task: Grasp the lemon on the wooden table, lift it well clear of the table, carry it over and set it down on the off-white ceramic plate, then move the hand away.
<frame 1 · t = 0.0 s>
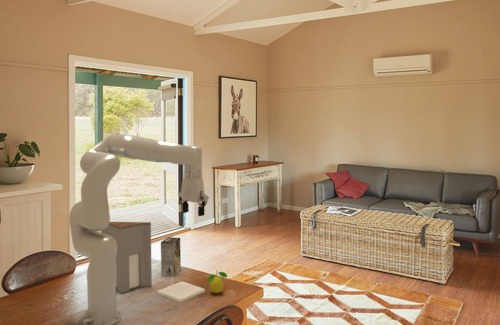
hand: (193, 214, 187), 31 cm above the table, tool pointing down, fingers open, 9 cm apart
coffee box: (171, 273, 203), on the table
cabinet: (124, 290, 183), on the table
lemon: (217, 293, 180), on the table
plate: (181, 292, 180), on the table
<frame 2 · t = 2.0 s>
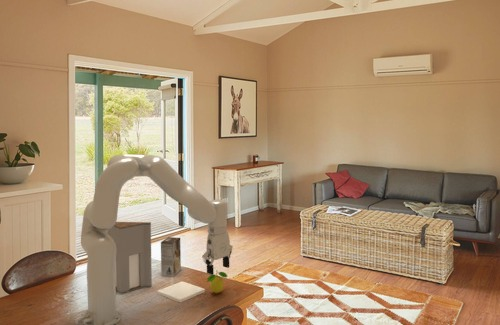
hand: (218, 270, 179), 10 cm above the table, tool pointing down, fingers open, 9 cm apart
nothing on the table moved.
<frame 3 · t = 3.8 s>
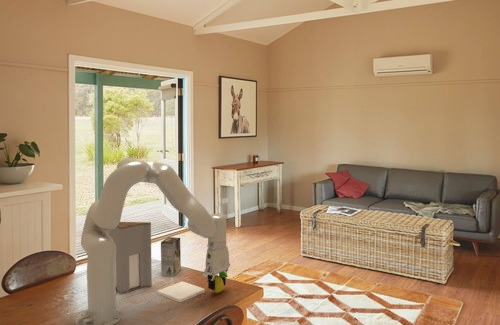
hand: (217, 286, 179), 3 cm above the table, tool pointing down, fingers closed on lemon, 5 cm apart
lemon: (217, 293, 180), on the table, touching gripper
everything else where it was.
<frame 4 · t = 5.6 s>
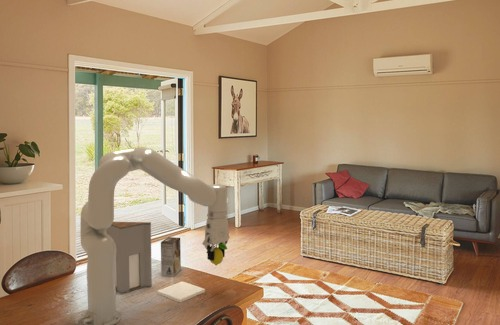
hand: (216, 257, 178), 15 cm above the table, tool pointing down, fingers closed on lemon, 5 cm apart
lemon: (216, 265, 178), point 12 cm above the table, touching gripper
everything else where it was.
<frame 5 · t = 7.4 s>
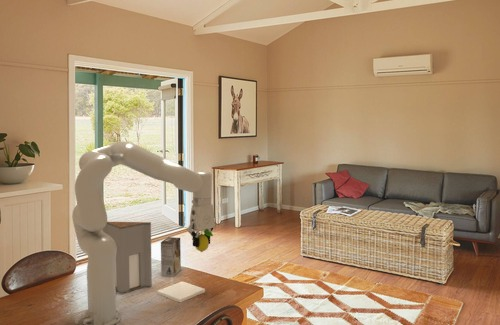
hand: (201, 244, 178), 21 cm above the table, tool pointing down, fingers closed on lemon, 5 cm apart
lemon: (202, 252, 178), point 17 cm above the table, touching gripper
everything else where it was.
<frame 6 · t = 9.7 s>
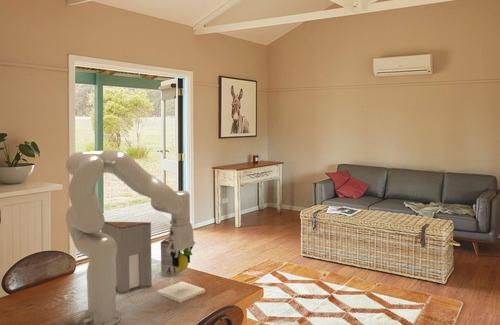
hand: (181, 263, 179), 12 cm above the table, tool pointing down, fingers closed on lemon, 5 cm apart
lemon: (182, 271, 179), point 9 cm above the table, touching gripper
everything else where it was.
when the fingers open (6 cm above the table, at t = 11.4 s): lemon drops 1 cm, resting on plate.
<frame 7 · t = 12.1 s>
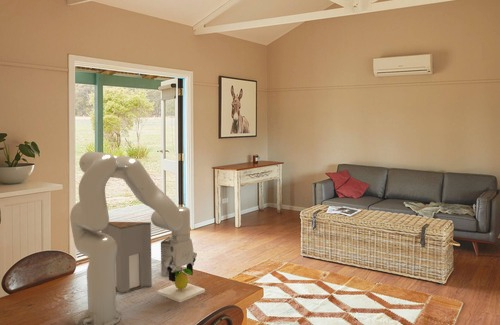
hand: (181, 277, 179), 7 cm above the table, tool pointing down, fingers open, 9 cm apart
lemon: (181, 290, 180), point 1 cm above the table, touching plate
everything else where it was.
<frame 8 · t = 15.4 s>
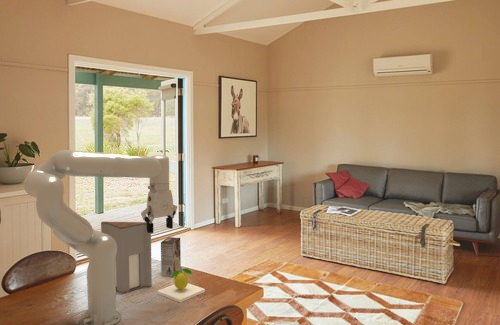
hand: (160, 230, 170), 28 cm above the table, tool pointing down, fingers open, 9 cm apart
nothing on the table moved.
at the end: lemon inside the target area on the plate (0.2 cm from its centre), point 1.0 cm above the plate's base; lemon moved 14.8 cm from its start; the gripper is holding nothing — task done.
